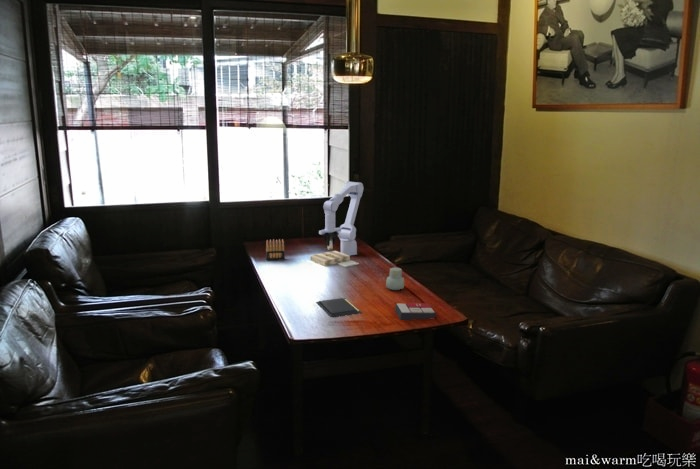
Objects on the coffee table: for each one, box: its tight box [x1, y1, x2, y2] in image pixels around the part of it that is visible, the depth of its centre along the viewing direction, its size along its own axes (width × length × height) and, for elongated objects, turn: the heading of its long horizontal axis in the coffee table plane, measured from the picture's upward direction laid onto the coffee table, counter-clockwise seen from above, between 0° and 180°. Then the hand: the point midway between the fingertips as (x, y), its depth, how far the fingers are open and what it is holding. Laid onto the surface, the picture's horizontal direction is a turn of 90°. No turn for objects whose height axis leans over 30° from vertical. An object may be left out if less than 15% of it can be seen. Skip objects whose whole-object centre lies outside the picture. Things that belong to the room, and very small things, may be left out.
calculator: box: [394, 302, 436, 321], centre depth 230 cm, size 11×4×15 cm
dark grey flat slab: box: [315, 297, 363, 318], centre depth 237 cm, size 20×2×15 cm
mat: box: [337, 259, 360, 268], centre depth 302 cm, size 10×7×1 cm
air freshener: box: [385, 267, 405, 291], centre depth 262 cm, size 11×8×10 cm
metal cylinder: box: [326, 236, 334, 251], centre depth 307 cm, size 3×3×7 cm
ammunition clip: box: [265, 238, 286, 261], centre depth 309 cm, size 11×2×12 cm, turn 102°
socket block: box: [309, 250, 351, 267], centre depth 309 cm, size 18×14×3 cm
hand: (330, 245), depth 307 cm, fingers closed on metal cylinder, 3 cm apart
